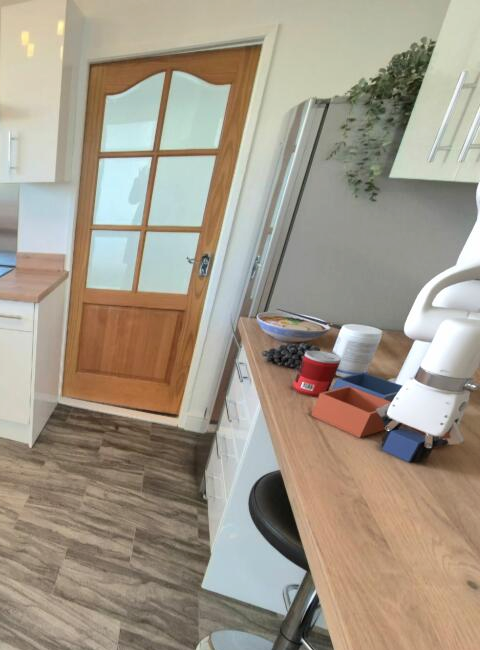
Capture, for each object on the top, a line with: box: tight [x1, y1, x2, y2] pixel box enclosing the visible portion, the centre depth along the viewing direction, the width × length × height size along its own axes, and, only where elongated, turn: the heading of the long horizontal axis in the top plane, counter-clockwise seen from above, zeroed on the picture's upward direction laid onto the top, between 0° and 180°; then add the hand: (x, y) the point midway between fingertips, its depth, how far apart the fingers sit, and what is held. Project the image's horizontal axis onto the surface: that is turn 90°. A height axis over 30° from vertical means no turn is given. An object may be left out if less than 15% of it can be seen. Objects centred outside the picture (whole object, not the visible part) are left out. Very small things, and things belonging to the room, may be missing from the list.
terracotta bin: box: [310, 386, 392, 439], centre depth 106 cm, size 11×11×6 cm
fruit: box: [261, 342, 321, 371], centre depth 137 cm, size 9×8×15 cm
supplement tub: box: [331, 323, 384, 378], centre depth 130 cm, size 10×10×15 cm
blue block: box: [381, 426, 425, 463], centre depth 94 cm, size 5×5×5 cm
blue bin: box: [331, 372, 402, 402], centre depth 114 cm, size 11×11×6 cm
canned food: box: [293, 350, 341, 398], centre depth 120 cm, size 8×8×11 cm
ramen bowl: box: [256, 308, 343, 344], centre depth 159 cm, size 25×23×8 cm
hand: (402, 451), depth 95 cm, fingers closed on blue block, 5 cm apart
